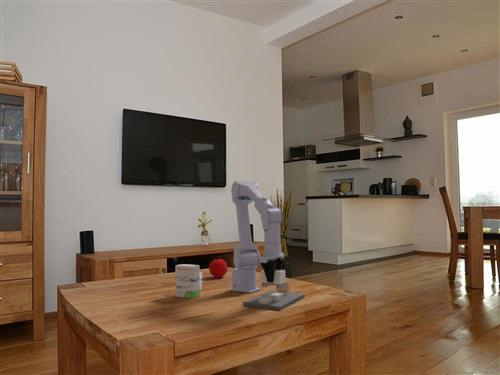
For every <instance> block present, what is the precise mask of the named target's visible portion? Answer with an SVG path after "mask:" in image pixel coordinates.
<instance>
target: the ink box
mask: <svg viewBox="0 0 500 375" xmlns="http://www.w3.org/2000/svg"><path fill="white" fill-rule="evenodd" d="M200 266H201V265H199V264H197V265H196V264H185V263H184V264H183V263H182V264H177V265H175V269H174V270H175V271H174V272H175V297H176V298H178V297H179V298H185V299H195V298H198V297H200V296H201V277H200V276H201V275H200V273H201V272H200V269H201V268H200Z"/></svg>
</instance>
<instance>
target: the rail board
mask: <svg viewBox="0 0 500 375" xmlns="http://www.w3.org/2000/svg"><path fill="white" fill-rule="evenodd" d="M304 298H305V293H297V292H290V290H289V291H288V292H283V291H276V290H268V291H266V292H264V293H261V294H259V295H256V296H254V297H251V298H249V299H246V300H244V301H243V302H242V305H243V306H245V307H251V308H258V309H266V310H273V311H282V310H284V309H286V308H288V307H290V306H291V305H293V304H296V303H297V302H298V301H301V300H304Z"/></svg>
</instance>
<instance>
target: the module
mask: <svg viewBox="0 0 500 375" xmlns="http://www.w3.org/2000/svg"><path fill="white" fill-rule="evenodd" d="M260 274H261V277H260V280H261V281H260V282H261V287H263V288H264V287H266V288H267V287H269V286H271V285H272V284H275V289H276V288H283V287H285V286H286V283H287V280H286V278H287V277H286V270H285V269H282V270H279V269H275V272H274V281H273V283H270V282H267V279H266V275H265V272H264V269H262V270H261V272H260Z"/></svg>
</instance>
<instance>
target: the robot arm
mask: <svg viewBox="0 0 500 375" xmlns="http://www.w3.org/2000/svg"><path fill="white" fill-rule="evenodd" d="M230 190H231V191H230V192H231V199H232V203H233V204H234V205H235V209H236V219H237V228H238V237H239V244H238V245H237V246H236V247H235V248H234V249H233V264H234V268H233V269H232V274H231V291H232V292H241V293H249V294H251V293H254V292H257V291H260V290H261V287H257V269H258V266H261V268H262V270H264V272H265V275H266V279H267V282H270V283H271V284H274V283H273V281H274V272H275V269H279V270H283V266H284V264H285V262H286V260H285V253H284V252H282V251H281V250H282V248H281V244H282V243H281V224H282V223H283V222H284V213H283V212H284V211H283V210H282V209H281V207H275V206H274V205H273V203H272V202H271V201H270V200H269V199H268V197H266V196H263V195H262V193H260V191H259V184H257V182H256V181H237V180H236V181H233V183H232V185H231V187H230ZM251 203H254V208H255V209H256V210H257V212H258V213H259V215H260V220H261V224H262V229H263V231H264V232H263V235H264V236H263V237H264V244H263V245H264V254H263V255H262V256H261V254H260V252H259V248H258V246H257V245H255V244H254V243H253V241H252V233H251V232H252V231H251V224H250V223H251V222H250V215H249V204H251Z"/></svg>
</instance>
